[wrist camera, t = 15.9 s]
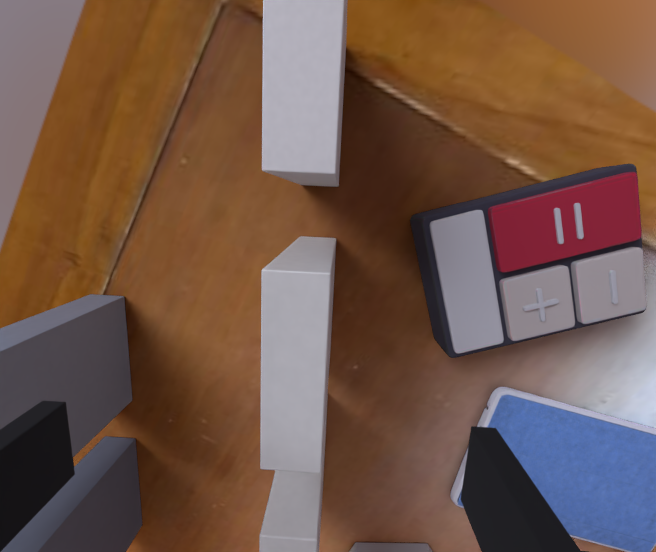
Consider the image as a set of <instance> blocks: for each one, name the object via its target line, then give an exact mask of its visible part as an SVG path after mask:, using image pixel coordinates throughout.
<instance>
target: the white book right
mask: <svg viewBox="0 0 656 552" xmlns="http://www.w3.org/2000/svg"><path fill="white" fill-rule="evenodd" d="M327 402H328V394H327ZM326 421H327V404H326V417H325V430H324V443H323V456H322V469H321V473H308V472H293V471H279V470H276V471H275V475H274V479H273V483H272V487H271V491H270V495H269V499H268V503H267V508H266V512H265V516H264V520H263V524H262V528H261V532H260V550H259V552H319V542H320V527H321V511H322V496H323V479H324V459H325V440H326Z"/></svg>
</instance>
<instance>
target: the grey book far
mask: <svg viewBox="0 0 656 552" xmlns="http://www.w3.org/2000/svg"><path fill="white" fill-rule="evenodd" d="M74 471H75V475H74V476H73V477H72V478H71V479H70V480H69V481H68V482H67V483H66V484H65V485H64V486H63V487H62V488H61V489H60V490H59V491H58V493H57V494H56V495H55V496H54V497H53V498H52V499H51V500H50V501H49V502H48V503H47V504H46V505H45V506H44V507H43V508H42V509H41V510H40V511H39V512H38V513H37V514H36V515H35V516H34V517H33V519H32V520H31V521H30V522H29V523H28V524H27V525H26V526H25V527H24V528H23V529H22V530H21V531H20V532H19V533H18V534H17V535H16V536H15V537H14V538H13V539H12V540H11V541H10V542H9V544H8V545H7V546H6V547H5V548H4V549H3V550H2V551H1V552H126V551H127V549H128V548H129V546H130V544H131V543H132V541H133V539H134V538H135V536H136V535H137V533H138V531H139V530H140V528H141V526H142V513H141V501H140V488H139V476H138V463H137V451H136V439H135V438H122V437H107V436H105V437H104V438H103V439H102V440H101V441H100V442H99V443H98V444H97V445H96V446H95V447H94V448H93V449H92V450H91V451H90V452H89V453H88V454H87V455H86V456H85V457H84V458H83V459H82V460H81V461H80V462H79V463H78V464H77V465H76V466H75V467H74Z"/></svg>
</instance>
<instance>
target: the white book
mask: <svg viewBox="0 0 656 552" xmlns="http://www.w3.org/2000/svg"><path fill="white" fill-rule="evenodd" d="M335 256H336V238H322V237H303V236H300V237H299V238H298V239H297V240H296V241H294V242H293V243H292V244H291V245H290V246H289V247H288V248H286V249H285V250H284V251H283V252H282V253H281V254H280V255H278V256H277V257H276V258H275V259H274V260H273V261H272V262H270V263H269V264H268V265H267V266H266V267H265V268H264V269H262V288H261V432H260V468H261V469H265V470H279V471H293V472H308V473H321V469H322V456H323V443H324V430H325V417H326V404H327V391H328V378H329V365H330V352H331V332H332V313H333V294H334V275H335Z"/></svg>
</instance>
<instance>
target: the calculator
mask: <svg viewBox="0 0 656 552" xmlns="http://www.w3.org/2000/svg"><path fill="white" fill-rule="evenodd" d="M410 223H411V228H412V233H413V238H414V243H415V247H416V252H417V257H418V262H419V267H420V272H421V277H422V282H423V286H424V291H425V296H426V301H427V306H428V311H429V316H430V321H431V325H432V330H433V335H434V339H435V340H436V341H437V343H438V344H439V345H440V346H441V348H442V349H443V350H444V351H445V352H446V354H447V355H448V356H449V357H451V358H456V357H460V356H464V355H468V354H472V353H477V352H481V351H485V350H489V349H493V348H497V347H502V346H506V345H510V344H514V343H518V342H523V341H527V340H531V339H535V338H539V337H543V336H548V335H552V334H556V333H560V332H564V331H568V330H573V329H577V328H581V327H585V326H589V325H594V324H598V323H602V322H606V321H610V320H614V319H619V318H623V317H627V316H631V315H635V314H639V313H642V312H644V311H645V310H646V307H647V301H646V287H645V273H644V260H643V251H642V238H641V219H640V206H639V192H638V178H637V171H636V167H635V166H634V165H633V164H624V165H617V166H609V167H602V168H596V169H592V170H589V171H585V172H581V173H577V174H573V175H569V176H565V177H561V178H557V179H553V180H549V181H546V182H542V183H538V184H534V185H530V186H526V187H522V188H518V189H514V190H510V191H507V192H503V193H499V194H495V195H491V196H487V197H483V198H479V199H475V200H471V201H467V202H462V203H457V204H453V205H449V206H445V207H441V208H437V209H433V210H430V211H426V212H422V213H418V214H415V215H413V216H412V217H411V219H410Z"/></svg>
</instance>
